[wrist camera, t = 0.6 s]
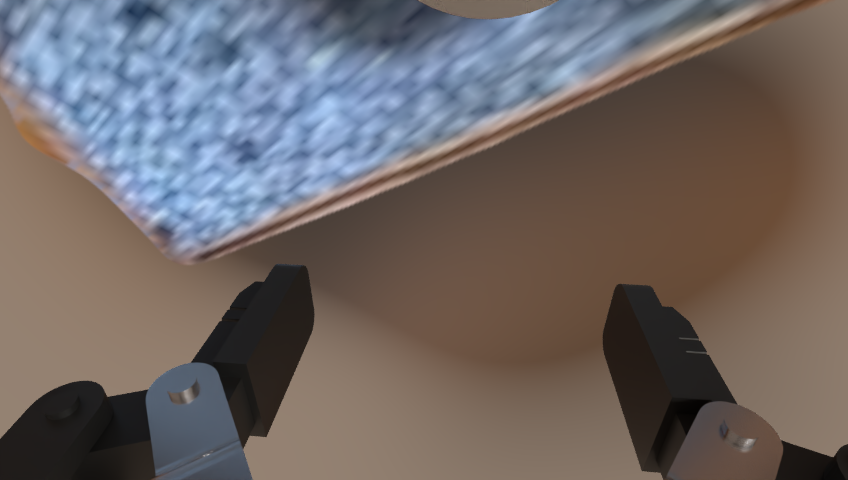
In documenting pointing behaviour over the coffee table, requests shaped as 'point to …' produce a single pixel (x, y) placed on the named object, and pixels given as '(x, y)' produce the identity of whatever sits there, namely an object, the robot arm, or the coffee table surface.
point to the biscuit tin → (487, 7)
